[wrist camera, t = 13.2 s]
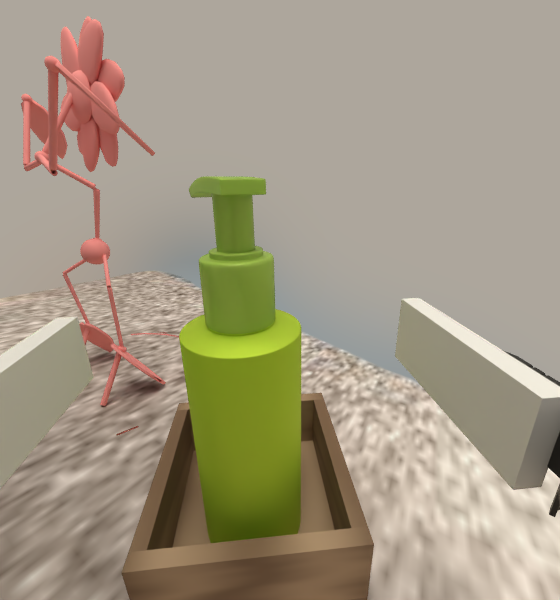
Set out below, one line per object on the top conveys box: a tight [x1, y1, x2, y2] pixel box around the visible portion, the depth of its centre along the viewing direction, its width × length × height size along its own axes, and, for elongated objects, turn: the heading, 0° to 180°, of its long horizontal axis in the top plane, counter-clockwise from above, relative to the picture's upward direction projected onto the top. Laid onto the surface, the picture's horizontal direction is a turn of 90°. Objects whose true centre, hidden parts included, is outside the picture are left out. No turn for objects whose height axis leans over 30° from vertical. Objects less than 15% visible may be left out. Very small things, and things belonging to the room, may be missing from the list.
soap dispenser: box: [179, 177, 301, 543], centre depth 17 cm, size 6×7×20 cm
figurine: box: [21, 16, 179, 435], centre depth 33 cm, size 15×26×35 cm, turn 49°
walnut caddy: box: [122, 393, 374, 600], centre depth 20 cm, size 11×11×5 cm
